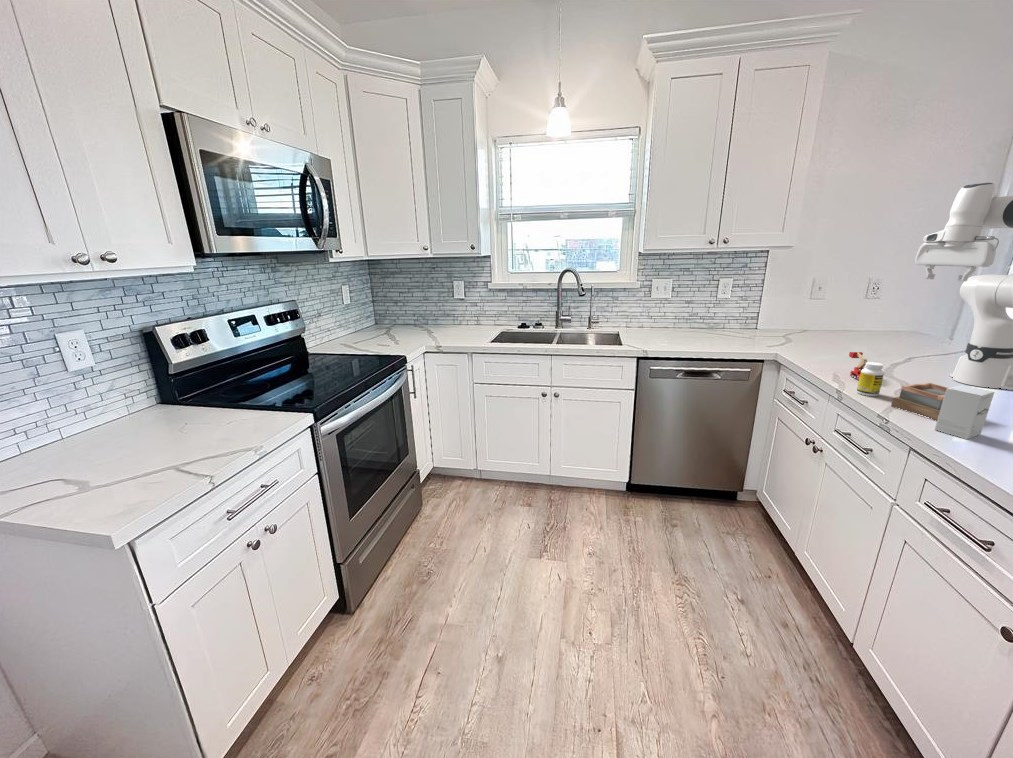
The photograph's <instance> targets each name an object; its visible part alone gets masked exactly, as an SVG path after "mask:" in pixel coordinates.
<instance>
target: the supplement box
mask: <svg viewBox="0 0 1013 758" xmlns="http://www.w3.org/2000/svg"><path fill="white" fill-rule="evenodd" d="M994 395H995V391H993V390H988V389H983V388H977V387H972V386H967V385H962V384H959V385H955V386H952V387H947V389H946V393H945V396H944V399H943V403H942V406H941V410H940V413H939V416H938V420H937V421H936V424H935V426H934V431H937V430H938V431H937V432H940V431H941V433H943V432H944V433H943V434H947V435H950V434H951V436H953V435H954V437H957V436H958V437H957V438H960V437H961V439H965V440H969V439H971V438H973V437H976V436H980V435H981V434H982V432H983V429H984V425H985V422H986V420H987V417H988V413H989V410H990V407H991V405H992V404H991V403H992V400H993V398H994Z"/></svg>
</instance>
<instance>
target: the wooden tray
mask: <svg viewBox="0 0 1013 758" xmlns="http://www.w3.org/2000/svg"><path fill="white" fill-rule="evenodd" d="M947 388H948V387H946V386H942V385H940V384H935V383H932V382H925V383H924V382H923V383H915V384H908V385H907V384H906V385H902V386H901V390H900V393H899V396H896V397H895V396H894V397H893V398H892V401H891V406H890V407H892V406H894V407H893V408H895V407H897V408H896V409H898V408H900V409H899V410H901V409H903V410H902V411H904V410H907V411H910V412H914V413H917V414H920V415H923V416H926V417H929V418H932V419H934V420H933V421H935V420H936V421H935V422H937V420H938V416H939V413H940V410H941V406H942V403H943V399H944V396H945V393H946V389H947ZM907 411H906V412H907ZM910 412H909V413H910Z"/></svg>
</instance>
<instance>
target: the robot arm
mask: <svg viewBox="0 0 1013 758" xmlns="http://www.w3.org/2000/svg"><path fill="white" fill-rule="evenodd" d="M995 189H996V184H995V183H993V182H983V183H974V184H967V185H964V186H962V187H961V188H960V189H959V190H958V192H957V194H956V196H955V198H954V200H953V202H952V204H951V207H950V210H949V219H948V221H947V223H946V224H945V226H944V229H942V230H939V231H937V232H934V233H930V234H927V235H925V236H924V237H923V239H922V241H923V243H922V244H921V245H920V246H919V248H918V250H917V252H916V255H915V259H914V263H915V265H917V266H924V270H925V272H926V273H925V275H926V276H925V279H926V280H934V279H935V276H936V274H934V272H933V270H934V269H935V267H965V272H964V273H962V275H959V276H958V278H957V281H958V282H963V283H962V284H961V286H960V287H959V296H960V298H961V299H962V301H964V302H965V303H966V304H967V306H968V307H969V308H970V310H971V313H972V316H973V328H972V332H971V335H970V339H969V342H968V343H967V345H966V347H965V350H964V353H965V354H963V355H961V356H960V357H959V359H958V360H957V361H958V362H957V363H956V365H955V369H954V371H953V372H950V373H949V375H950V376H949V377H951V378H952V377H953V378H952V380H954V381H955V382H958V383H962V384H965V385H970V386H975V387H980V388H988V387H989V388H990V389H999V388H1001V390H1006V389H1007V391H1013V318H1011V317H1010V315H1008V313H1007V309H1008V308H1009V309H1013V274H995V273H989V274H988V273H987V274H977V275H972V274H973V273H975V272H976V269H977V268H989V267H991V266H992V265H993V263H994V262H995V257H996V253H997V249H998V246H999V244H1000V240H999V238H997V237H996V236H994V235H988V236H986V235H985V236H983V235H982V236H981V234H982V232H983V230H985V229H988V230H989V229H993V230H994V229H1013V195H1006V196H1005V195H1004V196H999V195H997V194H996V193H995ZM971 275H972V276H971ZM1006 308H1007V309H1006ZM989 388H988V389H989Z"/></svg>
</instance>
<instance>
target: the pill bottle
mask: <svg viewBox="0 0 1013 758" xmlns="http://www.w3.org/2000/svg"><path fill="white" fill-rule="evenodd" d="M863 368H864V369H862V370H861V374H860V378H859V380H858V383H857V387H856V388H857V389H856V393H857V394H859V395H861V394H862V396H865V395H866V396H865V397H878V396H879V395H880V393H881V387H882V383H883V381H884V376H885V373H884V371H883V368H884V364H882V363H881V362H877V361H876V362H873V361H867V362H866V364H865V366H864V367H863Z"/></svg>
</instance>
